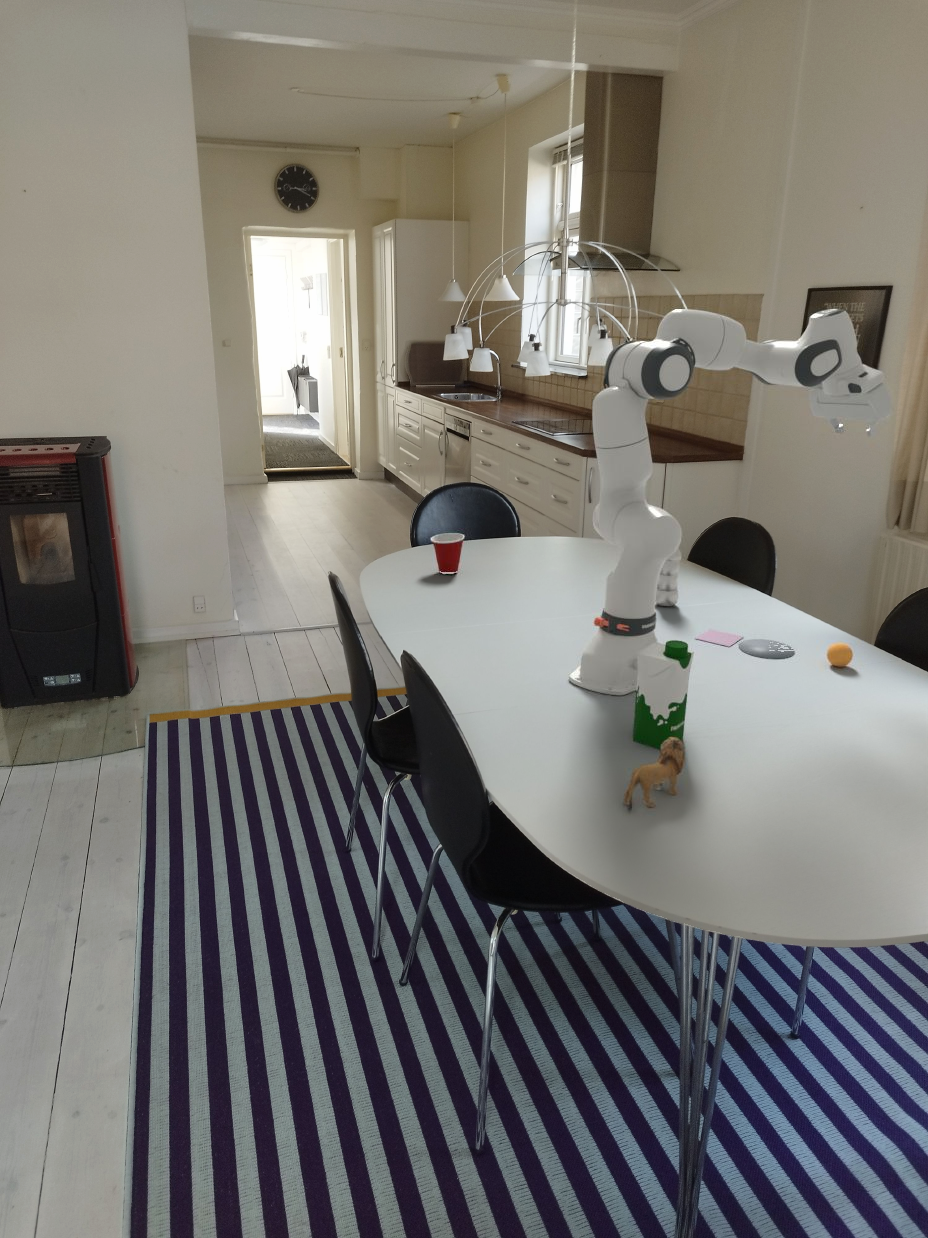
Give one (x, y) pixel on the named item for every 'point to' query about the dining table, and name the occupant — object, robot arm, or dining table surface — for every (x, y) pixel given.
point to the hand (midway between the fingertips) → (855, 434)
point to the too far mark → (719, 637)
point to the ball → (839, 654)
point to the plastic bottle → (668, 581)
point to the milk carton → (661, 692)
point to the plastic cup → (448, 551)
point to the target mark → (764, 648)
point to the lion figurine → (658, 772)
